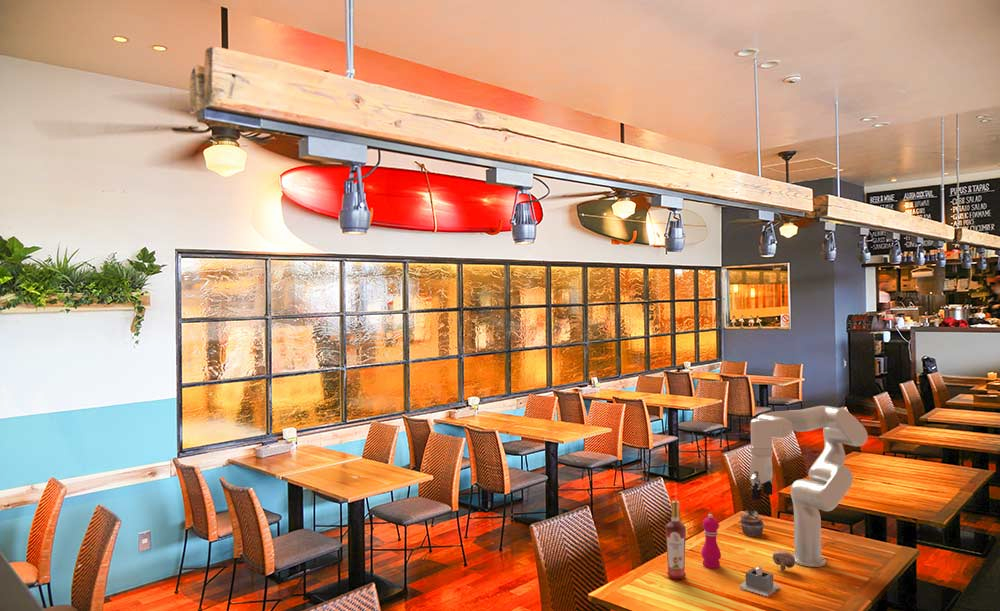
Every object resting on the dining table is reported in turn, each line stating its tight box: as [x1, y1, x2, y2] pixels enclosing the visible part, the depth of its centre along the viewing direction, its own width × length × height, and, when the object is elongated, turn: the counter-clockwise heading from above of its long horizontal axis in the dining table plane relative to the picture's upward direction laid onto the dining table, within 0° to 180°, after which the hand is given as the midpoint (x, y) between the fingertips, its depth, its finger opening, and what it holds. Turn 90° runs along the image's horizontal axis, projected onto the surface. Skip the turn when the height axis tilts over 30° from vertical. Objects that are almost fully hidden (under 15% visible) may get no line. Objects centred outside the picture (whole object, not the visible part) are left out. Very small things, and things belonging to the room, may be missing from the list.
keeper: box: [738, 566, 780, 598], centre depth 227 cm, size 10×10×7 cm
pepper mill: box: [701, 513, 722, 570], centre depth 248 cm, size 7×7×20 cm
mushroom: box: [772, 550, 796, 572], centre depth 242 cm, size 8×6×8 cm
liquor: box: [665, 500, 687, 581], centre depth 238 cm, size 7×7×28 cm
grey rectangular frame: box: [745, 568, 774, 590], centre depth 228 cm, size 8×6×4 cm
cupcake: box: [740, 509, 765, 537], centre depth 282 cm, size 10×10×10 cm
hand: (762, 496), depth 242 cm, fingers open, 9 cm apart
